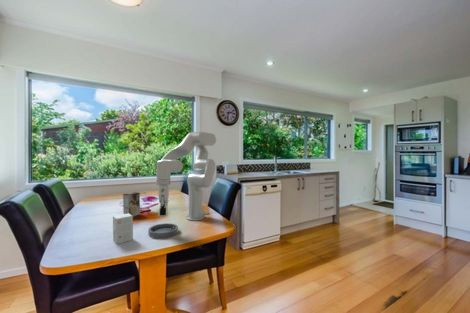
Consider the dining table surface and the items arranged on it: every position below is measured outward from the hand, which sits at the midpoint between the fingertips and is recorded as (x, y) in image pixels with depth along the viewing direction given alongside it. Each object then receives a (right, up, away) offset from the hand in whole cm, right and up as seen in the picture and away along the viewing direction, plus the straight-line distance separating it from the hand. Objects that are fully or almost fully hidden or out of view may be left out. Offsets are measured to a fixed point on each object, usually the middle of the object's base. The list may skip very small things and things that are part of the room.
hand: (163, 213), depth 129 cm
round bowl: (0, -11, +1) cm, 11 cm away
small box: (-18, -12, -10) cm, 24 cm away
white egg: (0, -1, 0) cm, 1 cm away
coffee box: (-33, -10, +33) cm, 48 cm away
